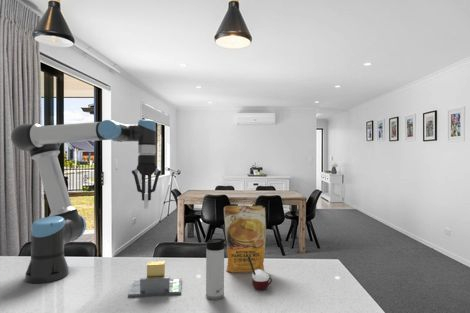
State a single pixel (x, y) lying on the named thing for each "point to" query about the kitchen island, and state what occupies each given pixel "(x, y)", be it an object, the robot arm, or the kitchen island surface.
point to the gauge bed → (155, 287)
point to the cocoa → (259, 278)
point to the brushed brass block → (156, 269)
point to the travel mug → (215, 269)
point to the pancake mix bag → (245, 237)
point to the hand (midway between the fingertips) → (146, 207)
